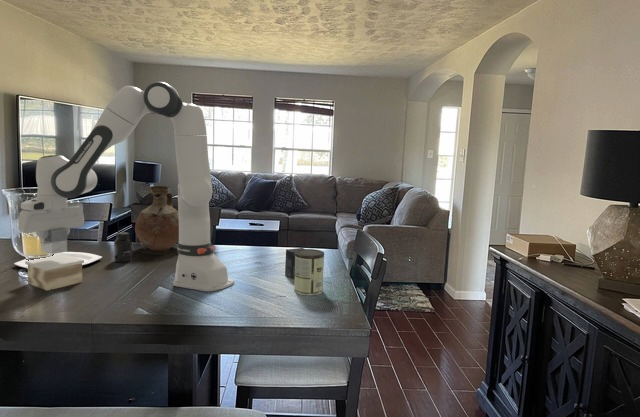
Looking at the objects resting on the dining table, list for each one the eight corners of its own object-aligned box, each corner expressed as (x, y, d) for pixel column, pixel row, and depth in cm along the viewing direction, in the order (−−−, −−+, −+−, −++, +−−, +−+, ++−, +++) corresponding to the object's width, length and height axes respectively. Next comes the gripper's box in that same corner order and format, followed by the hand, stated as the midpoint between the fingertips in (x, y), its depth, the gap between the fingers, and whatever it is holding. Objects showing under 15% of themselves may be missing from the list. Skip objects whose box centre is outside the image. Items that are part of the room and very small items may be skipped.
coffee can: (299, 285, 161) (300, 247, 159) (326, 288, 158) (327, 250, 156) (289, 293, 151) (290, 253, 149) (317, 297, 148) (319, 256, 146)
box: (291, 278, 168) (292, 252, 167) (284, 275, 173) (285, 249, 171) (309, 276, 172) (309, 250, 171) (301, 272, 177) (302, 247, 176)
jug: (126, 253, 197) (125, 187, 194) (147, 243, 219) (146, 183, 215) (174, 255, 197) (173, 189, 193) (189, 245, 218) (190, 185, 214)
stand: (84, 282, 154) (84, 260, 153) (45, 291, 143) (44, 267, 142) (64, 275, 161) (63, 254, 160) (26, 283, 150) (24, 261, 149)
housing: (56, 248, 155) (55, 226, 154) (67, 251, 151) (66, 228, 150) (41, 250, 150) (40, 228, 149) (52, 254, 147) (51, 230, 146)
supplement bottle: (127, 263, 180) (127, 235, 179) (111, 262, 181) (110, 234, 179) (134, 259, 187) (134, 232, 186) (119, 258, 187) (118, 231, 186)
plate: (112, 260, 186) (111, 255, 186) (59, 277, 160) (58, 272, 160) (61, 254, 193) (60, 249, 193) (2, 269, 167) (2, 264, 167)
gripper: (77, 199, 159) (78, 236, 161) (15, 204, 142) (17, 245, 143) (87, 201, 156) (88, 239, 157) (24, 206, 138) (26, 248, 140)
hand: (54, 242), depth 150 cm, fingers closed on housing, 5 cm apart
